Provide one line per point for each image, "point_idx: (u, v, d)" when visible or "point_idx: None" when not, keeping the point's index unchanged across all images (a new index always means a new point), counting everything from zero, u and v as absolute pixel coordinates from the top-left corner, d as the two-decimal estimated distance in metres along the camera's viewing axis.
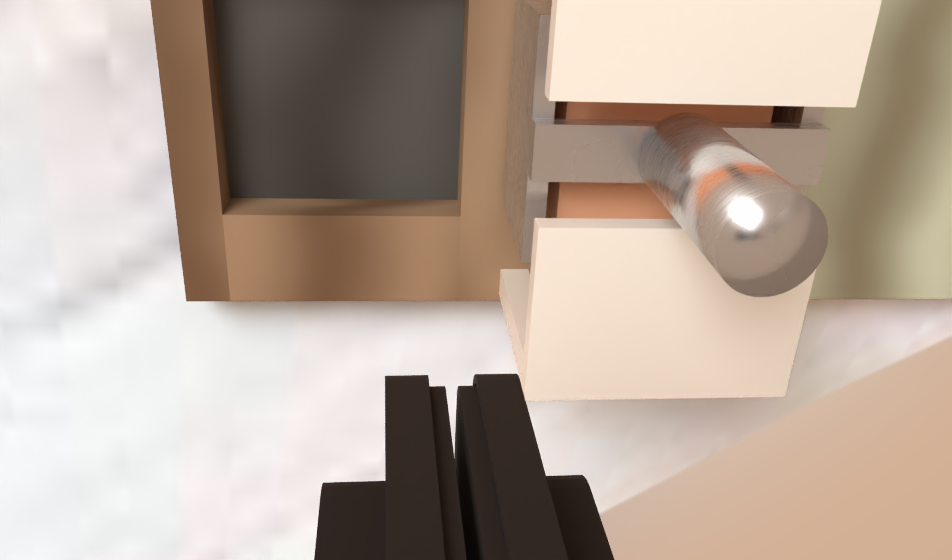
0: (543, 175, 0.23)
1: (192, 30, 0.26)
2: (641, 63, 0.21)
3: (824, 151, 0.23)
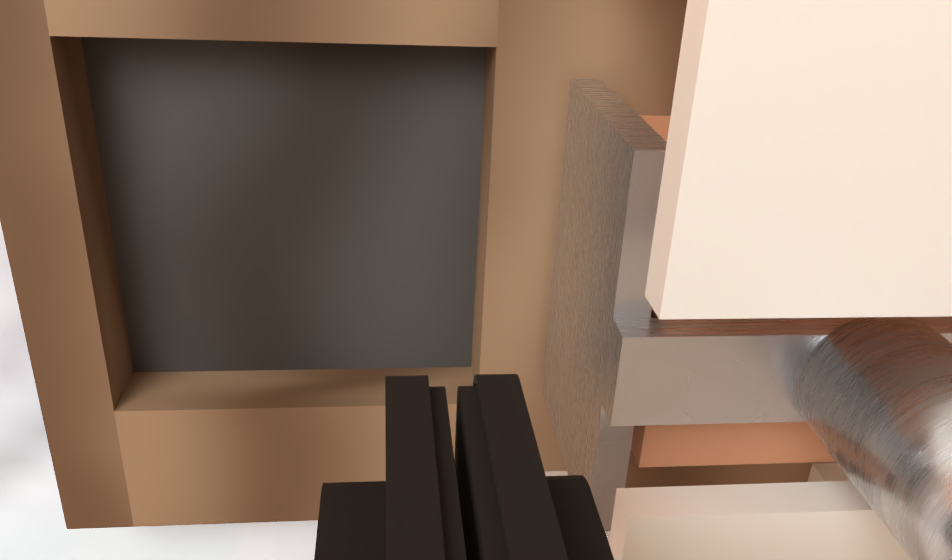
0: (632, 416, 0.13)
1: (48, 145, 0.16)
2: (834, 251, 0.11)
3: None
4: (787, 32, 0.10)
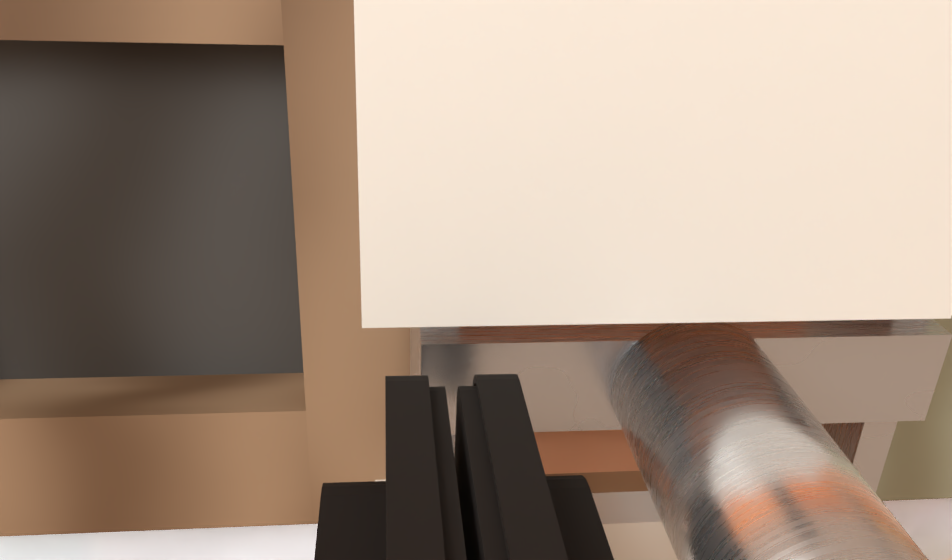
0: None
1: None
2: (539, 256, 0.11)
3: (938, 368, 0.13)
4: (445, 27, 0.09)
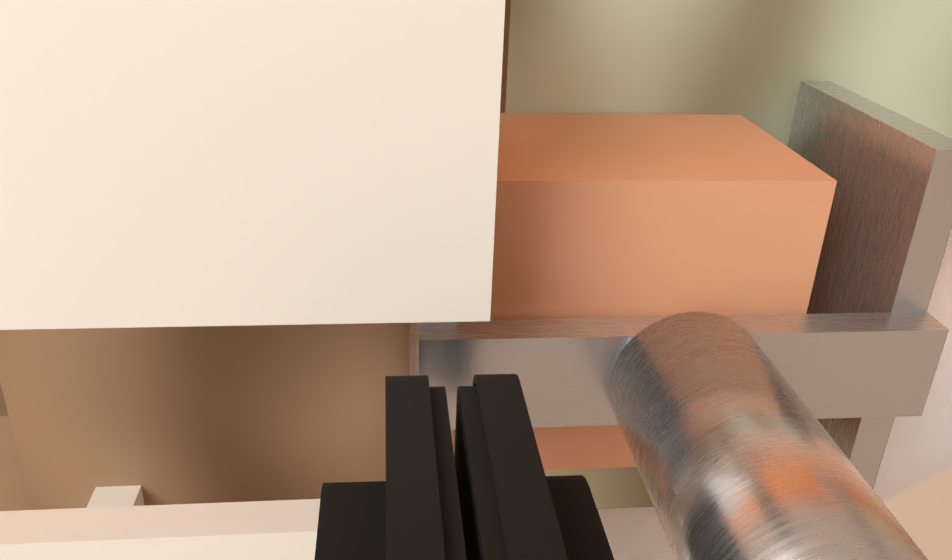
0: None
1: None
2: (4, 257, 0.10)
3: (934, 363, 0.13)
4: None
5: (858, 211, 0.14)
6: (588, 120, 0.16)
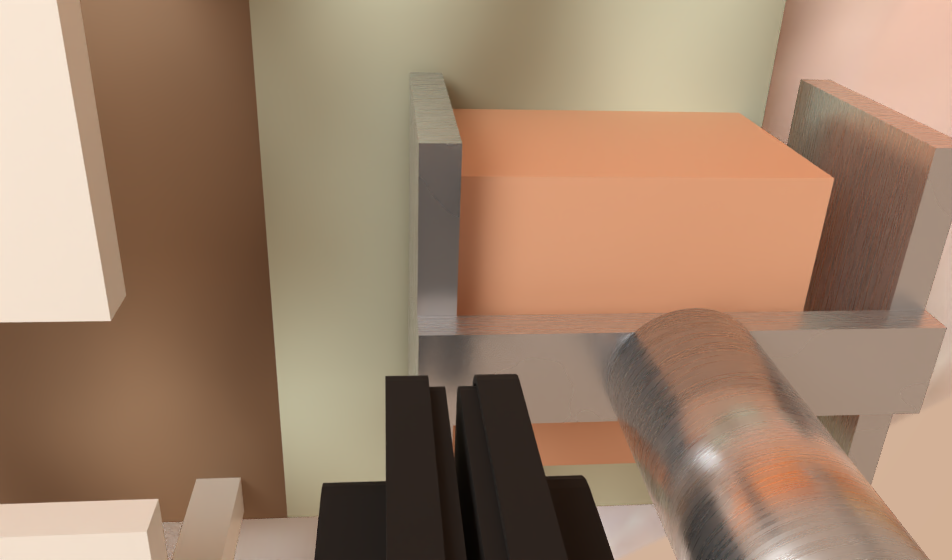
0: None
1: None
2: None
3: (932, 361, 0.13)
4: None
5: (858, 209, 0.14)
6: (587, 117, 0.16)
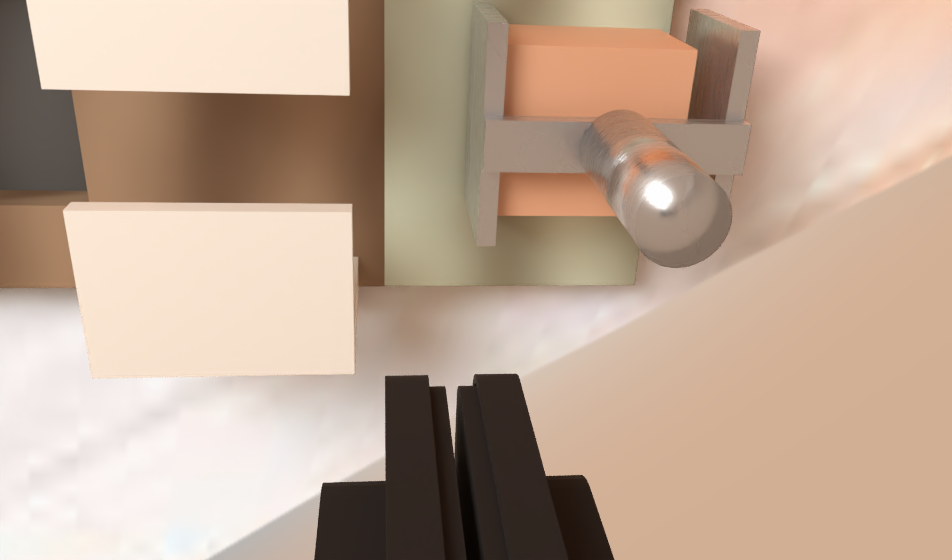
0: (494, 166, 0.26)
1: None
2: (124, 53, 0.22)
3: (746, 144, 0.26)
4: None
5: (714, 72, 0.27)
6: (572, 28, 0.29)
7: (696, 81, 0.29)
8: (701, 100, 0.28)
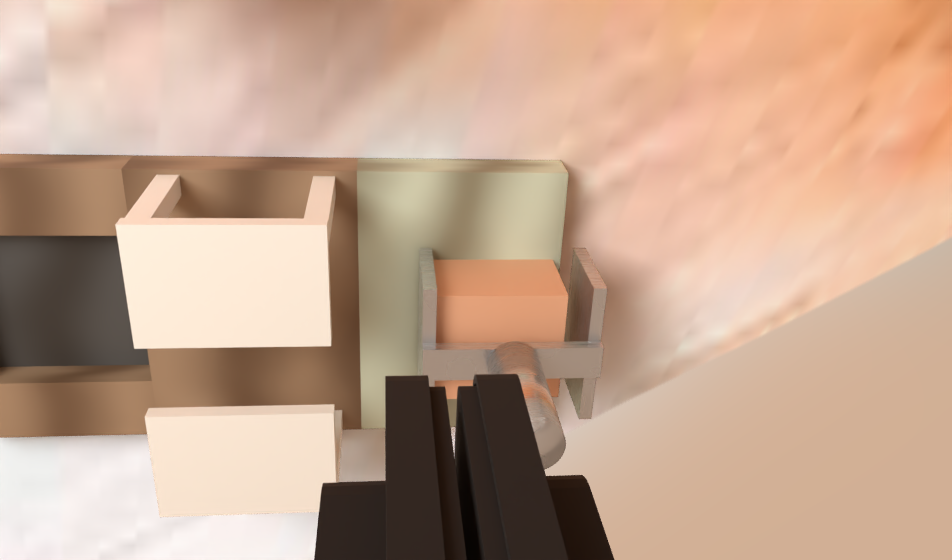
0: (429, 377, 0.38)
1: None
2: (187, 327, 0.35)
3: (601, 359, 0.39)
4: (147, 266, 0.33)
5: (583, 303, 0.40)
6: (489, 264, 0.41)
7: (576, 301, 0.41)
8: (578, 317, 0.41)
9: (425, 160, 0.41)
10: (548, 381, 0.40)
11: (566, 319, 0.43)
